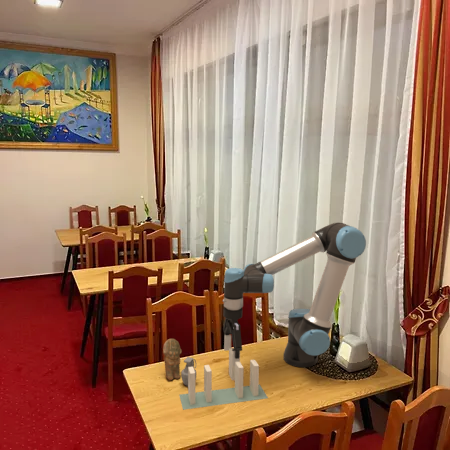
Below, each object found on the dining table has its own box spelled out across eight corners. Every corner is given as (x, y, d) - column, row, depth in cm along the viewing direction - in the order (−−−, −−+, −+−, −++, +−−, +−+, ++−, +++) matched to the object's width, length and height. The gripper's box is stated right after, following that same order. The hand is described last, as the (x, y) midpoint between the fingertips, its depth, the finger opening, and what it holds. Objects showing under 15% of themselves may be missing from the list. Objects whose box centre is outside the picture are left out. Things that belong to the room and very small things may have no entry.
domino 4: (239, 390, 162) (239, 361, 161) (242, 397, 158) (243, 367, 156) (234, 391, 162) (235, 361, 160) (238, 398, 157) (238, 368, 155)
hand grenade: (192, 390, 163) (191, 363, 162) (178, 387, 166) (178, 361, 164) (199, 382, 169) (199, 356, 168) (186, 379, 171) (186, 354, 170)
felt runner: (259, 385, 167) (259, 384, 167) (268, 399, 158) (268, 398, 157) (179, 396, 159) (179, 394, 159) (183, 411, 150) (183, 409, 150)
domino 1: (193, 396, 158) (192, 366, 156) (195, 403, 153) (195, 373, 152) (188, 397, 158) (188, 367, 156) (190, 404, 153) (190, 373, 151)
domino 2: (208, 394, 160) (208, 364, 158) (211, 401, 155) (211, 371, 153) (204, 395, 159) (204, 365, 157) (206, 402, 154) (206, 371, 153)
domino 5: (254, 388, 164) (254, 359, 162) (258, 395, 159) (258, 365, 157) (249, 389, 163) (250, 360, 162) (253, 396, 159) (254, 366, 157)
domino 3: (233, 375, 175) (233, 347, 173) (236, 381, 170) (236, 353, 169) (228, 375, 175) (229, 348, 173) (231, 381, 170) (232, 353, 168)
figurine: (169, 383, 168) (168, 348, 166) (160, 375, 175) (159, 340, 173) (187, 378, 173) (187, 343, 170) (178, 369, 180) (178, 336, 177)
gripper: (216, 297, 179) (215, 345, 182) (232, 319, 155) (230, 373, 158) (234, 296, 181) (232, 343, 184) (251, 317, 157) (249, 371, 160)
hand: (231, 357), depth 171 cm, fingers open, 13 cm apart
